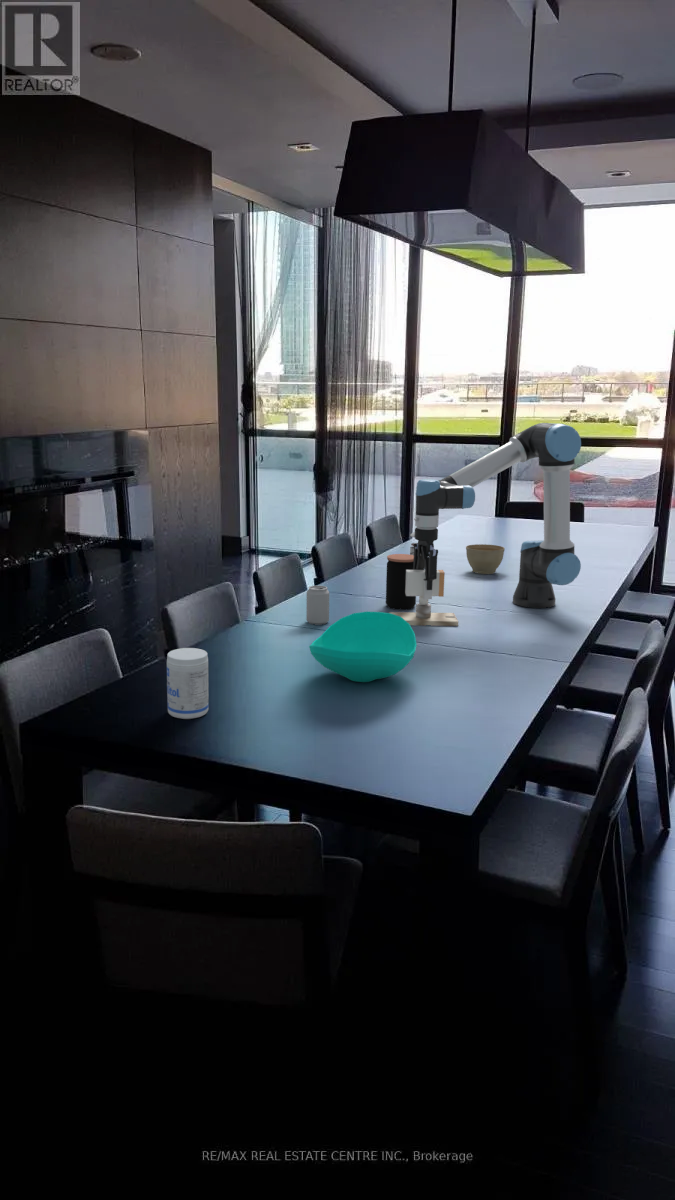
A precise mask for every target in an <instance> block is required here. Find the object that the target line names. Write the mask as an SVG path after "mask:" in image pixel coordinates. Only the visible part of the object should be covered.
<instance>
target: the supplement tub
mask: <svg viewBox="0 0 675 1200" xmlns="http://www.w3.org/2000/svg"><path fill="white" fill-rule="evenodd" d="M166 655H167V656H166V658H167V659H166V693H167V694H166V695H167V697H166V698H167V701H166V702H167V713H168V714H169V715H170V716H171V717H174V718H176V719H183V720H191V719H197V718H200V717H203V716H205V715H206V714H207V713H208V711H209V657H208V652H207V651H206V650H204V649H200V648H195V647H182V648H177V649H172V650H170V651H169V652H168V653H167V654H166Z"/></svg>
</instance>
